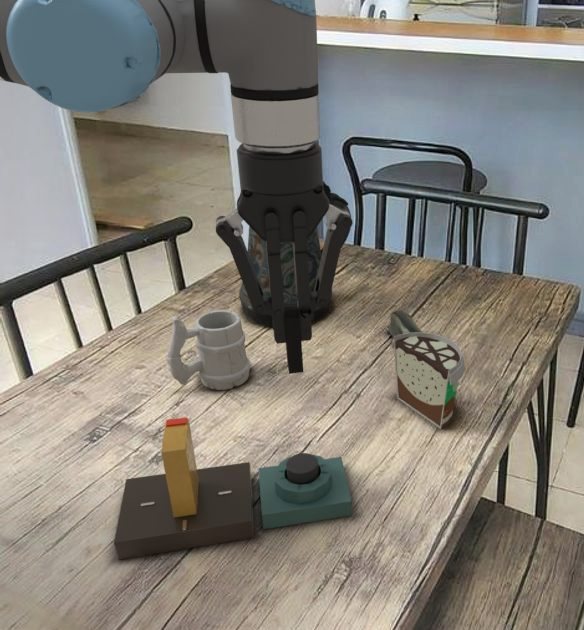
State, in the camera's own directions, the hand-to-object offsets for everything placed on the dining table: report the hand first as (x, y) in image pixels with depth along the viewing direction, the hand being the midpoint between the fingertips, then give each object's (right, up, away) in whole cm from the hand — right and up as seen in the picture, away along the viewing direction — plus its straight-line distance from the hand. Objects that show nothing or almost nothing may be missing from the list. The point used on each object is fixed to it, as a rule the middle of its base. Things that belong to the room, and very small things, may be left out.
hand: (295, 366), depth 72 cm
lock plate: (-13, -17, +6) cm, 23 cm away
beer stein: (-10, +7, +53) cm, 54 cm away
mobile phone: (+11, 0, +40) cm, 41 cm away
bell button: (0, -13, +7) cm, 15 cm away
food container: (+15, -8, +26) cm, 31 cm away
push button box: (0, -16, +9) cm, 18 cm away
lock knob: (-13, -15, +4) cm, 21 cm away
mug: (-18, -5, +30) cm, 35 cm away
